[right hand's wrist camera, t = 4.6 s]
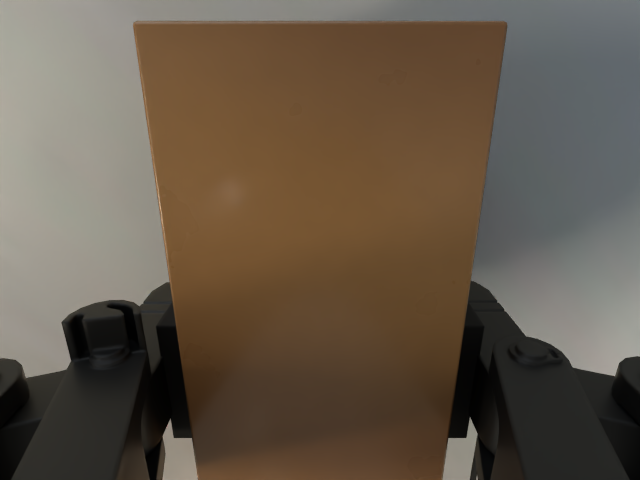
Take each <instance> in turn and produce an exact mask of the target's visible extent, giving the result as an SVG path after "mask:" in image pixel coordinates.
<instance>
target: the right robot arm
mask: <svg viewBox="0 0 640 480" xmlns="http://www.w3.org/2000/svg"><path fill="white" fill-rule="evenodd" d="M62 326H63V330H64V334H65V338H66V342H67V346H68V350H69V354H70V358H71V363H70V365H69V366H68V368H67V370H64V371H60V372H55V373H50V374H45V375H40V376H34V377H29V378H25V374H24V371H23V368H22V365H21V364H20V363H18V362H17V361H16V360H12V359H5V358H2V359H0V480H162V477H163V469H164V461H165V447H164V441H163V434H164V431H165V429H166V427H167V425H168V422H169V420H170V418H171V423H172V429H173V435H174V438H192V434H191V427H190V420H189V413H188V406H187V399H186V392H185V385H184V378H183V371H182V364H181V357H180V350H179V343H178V336H177V329H176V322H175V315H174V308H173V301H172V294H171V287H170V282H167V283H165V284H163V285H162V286H160V287H159V288H157V289H155V290H154V291H152V292H151V293H150V295H149V296H148V297H147V298H146V300H145V301H144V302H143V304H142V305H141V306H140V307H139V306H138V305H137V304H135V303H134V302H130V301H125V300H109V301H104V302H98V303H94V304H91V305H88V306H85V307H83V308H80V309H78V310H77V311H75V312H73V313H71V314H70V315H68V316H67V317H66V318H65V319H64V320H63V321H62ZM470 417H471V420H472V422H473V424H474V426H475V429H476V431H477V433H478V436H477V441H476V447H475V453H474V458H473V464H472V470H471V476H470V480H476V477H477V476H478V480H640V357H638V356H637V357H630V358H625V359H624V360H623V361H621V362H620V363H619V366H618V369H617V372H616V375H615V376H611V375H605V374H600V373H595V372H590V371H585V370H580V369H576V368H572V366H571V364H570V362H569V360H568V359H567V358H566V356H565V355H564V354H563V353H562V352H561V351H560V350H558V349H557V348H555V347H554V346H552V345H551V344H548V343H546V342H543V341H541V340H538V339H535V338H531V337H526V336H525V335H524V333H523V332H522V331H521V330H520V328H519V327H518V326H517V325H516V324H515V322H514V321H513V320H512V319H511V317H510V316H509V315H508V314H507V312H504V309H503V307H502V306H501V305H500V304H499V303H497V300H496V299H495V297H494V296H493V295H492V294H491V292H490V291H489V290H488V289H486V288H484V287H483V286H481V285H479V284H478V283H476V282H474V281H471V283H470V290H469V297H468V304H467V311H466V317H465V324H464V331H463V338H462V345H461V352H460V359H459V366H458V373H457V380H456V387H455V394H454V401H453V408H452V415H451V422H450V429H449V436H448V438H466V437H467V431H468V424H469V418H470Z"/></svg>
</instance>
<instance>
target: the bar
mask: <svg viewBox="0 0 640 480" xmlns="http://www.w3.org/2000/svg"><path fill="white" fill-rule="evenodd" d="M133 29H134V36H135V43H136V50H137V57H138V63H139V70H140V77H141V84H142V91H143V98H144V105H145V112H146V119H147V126H148V133H149V140H150V147H151V154H152V161H153V168H154V175H155V182H156V189H157V196H158V203H159V210H160V217H161V224H162V231H163V238H164V245H165V252H166V259H167V266H168V273H169V280H170V287H171V294H172V301H173V308H174V315H175V322H176V329H177V336H178V343H179V350H180V357H181V364H182V371H183V378H184V385H185V392H186V399H187V406H188V413H189V420H190V427H191V434H192V441H193V448H194V455H195V462H196V469H197V476H198V480H442V478H443V471H444V464H445V457H446V450H447V443H448V436H449V429H450V422H451V415H452V408H453V401H454V394H455V387H456V380H457V373H458V366H459V359H460V352H461V345H462V338H463V331H464V324H465V317H466V311H467V304H468V297H469V290H470V283H471V276H472V269H473V262H474V255H475V248H476V241H477V234H478V227H479V220H480V213H481V206H482V199H483V192H484V185H485V178H486V171H487V164H488V157H489V150H490V143H491V136H492V129H493V122H494V115H495V108H496V101H497V95H498V88H499V81H500V74H501V67H502V60H503V53H504V46H505V39H506V32H507V22H504V21H136V22H134V23H133Z"/></svg>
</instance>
